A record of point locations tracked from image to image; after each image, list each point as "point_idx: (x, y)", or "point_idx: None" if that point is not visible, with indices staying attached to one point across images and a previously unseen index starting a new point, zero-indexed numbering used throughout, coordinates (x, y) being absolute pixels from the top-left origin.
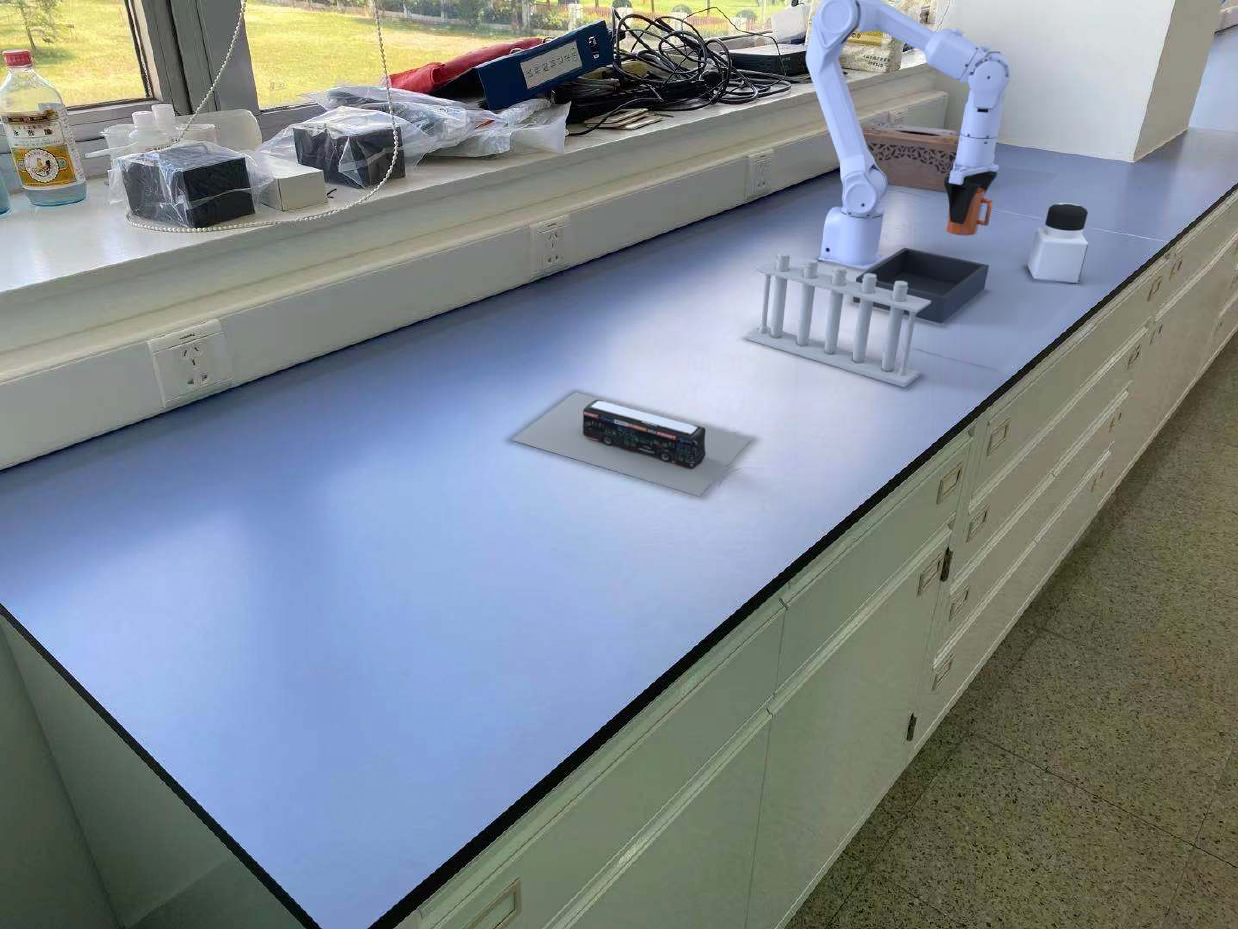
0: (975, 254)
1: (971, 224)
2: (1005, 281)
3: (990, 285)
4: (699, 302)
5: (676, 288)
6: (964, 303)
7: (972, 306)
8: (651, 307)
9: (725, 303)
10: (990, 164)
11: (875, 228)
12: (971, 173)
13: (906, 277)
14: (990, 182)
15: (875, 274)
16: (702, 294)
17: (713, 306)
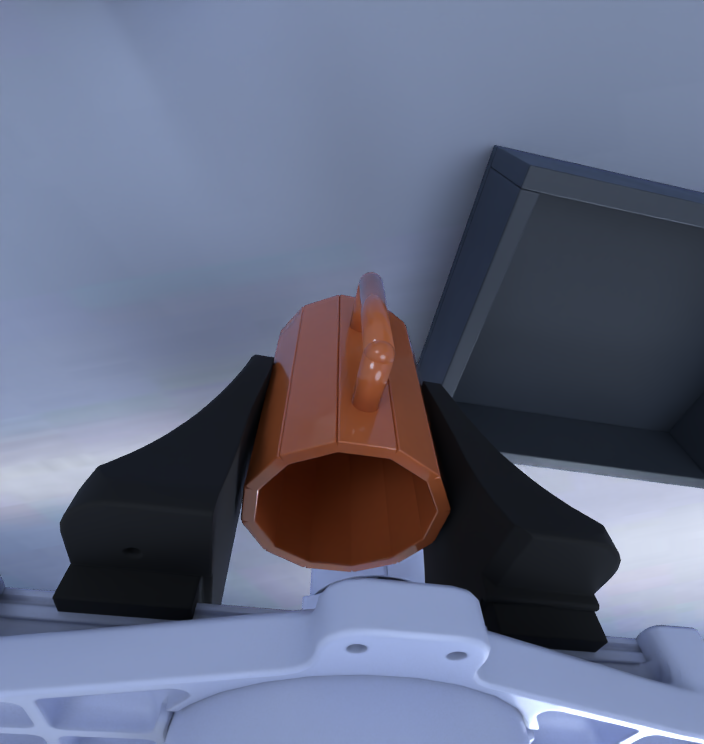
0: (97, 240)
1: (404, 344)
2: (343, 71)
3: (417, 128)
4: (671, 597)
5: (610, 624)
6: (686, 190)
7: (661, 158)
8: (696, 624)
9: (674, 576)
10: (407, 695)
11: None
12: (641, 686)
13: (464, 381)
14: (190, 459)
15: (625, 457)
16: (633, 602)
17: (689, 583)
